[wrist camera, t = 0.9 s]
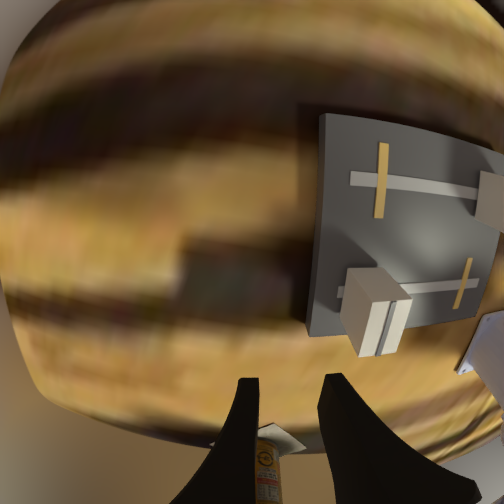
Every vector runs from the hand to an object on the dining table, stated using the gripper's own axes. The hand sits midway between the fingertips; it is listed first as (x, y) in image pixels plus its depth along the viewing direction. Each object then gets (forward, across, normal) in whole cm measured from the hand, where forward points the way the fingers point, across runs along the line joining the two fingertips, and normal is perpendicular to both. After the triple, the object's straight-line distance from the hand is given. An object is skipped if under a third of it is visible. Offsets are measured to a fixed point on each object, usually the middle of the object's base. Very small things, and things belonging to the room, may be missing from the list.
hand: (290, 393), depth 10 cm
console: (+9, -10, -4) cm, 15 cm away
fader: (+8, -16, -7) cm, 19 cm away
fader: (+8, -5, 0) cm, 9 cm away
